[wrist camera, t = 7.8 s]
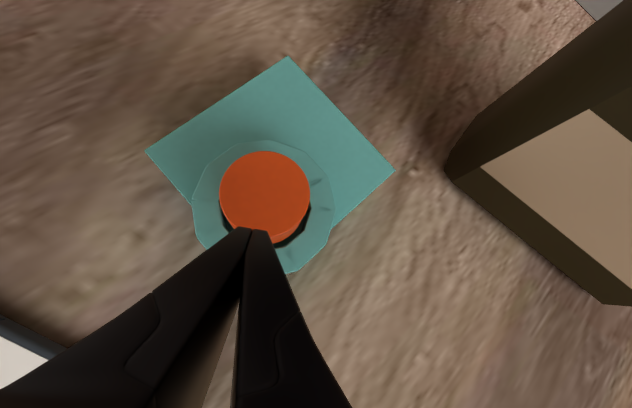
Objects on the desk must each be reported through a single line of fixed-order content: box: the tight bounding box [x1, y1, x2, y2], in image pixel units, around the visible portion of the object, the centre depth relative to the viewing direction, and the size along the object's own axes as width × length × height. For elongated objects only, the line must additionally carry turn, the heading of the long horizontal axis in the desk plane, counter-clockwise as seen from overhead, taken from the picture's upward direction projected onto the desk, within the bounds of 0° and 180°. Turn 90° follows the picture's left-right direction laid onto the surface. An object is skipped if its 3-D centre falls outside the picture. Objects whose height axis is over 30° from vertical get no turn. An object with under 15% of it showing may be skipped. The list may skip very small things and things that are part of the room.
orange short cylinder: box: [219, 151, 310, 244], centre depth 13 cm, size 4×4×3 cm
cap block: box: [144, 56, 395, 274], centre depth 18 cm, size 11×10×6 cm
